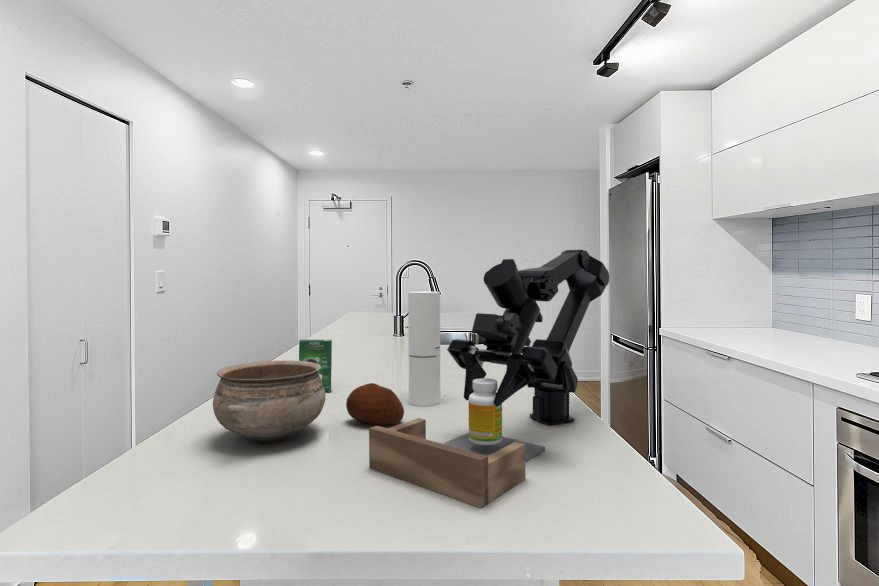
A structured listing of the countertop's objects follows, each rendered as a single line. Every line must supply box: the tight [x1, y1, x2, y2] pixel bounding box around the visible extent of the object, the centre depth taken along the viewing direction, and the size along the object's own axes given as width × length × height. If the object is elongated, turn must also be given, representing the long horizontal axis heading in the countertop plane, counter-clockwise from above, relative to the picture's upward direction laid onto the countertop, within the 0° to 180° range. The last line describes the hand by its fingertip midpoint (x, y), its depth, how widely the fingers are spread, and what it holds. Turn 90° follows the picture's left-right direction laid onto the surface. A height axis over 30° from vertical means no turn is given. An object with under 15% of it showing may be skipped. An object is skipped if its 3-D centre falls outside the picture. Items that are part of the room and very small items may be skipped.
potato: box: [345, 382, 405, 426], centre depth 95 cm, size 8×12×8 cm, turn 85°
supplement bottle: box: [468, 378, 503, 445], centre depth 79 cm, size 5×5×10 cm
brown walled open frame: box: [368, 417, 527, 509], centre depth 71 cm, size 11×20×6 cm, turn 51°
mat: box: [442, 432, 546, 463], centre depth 81 cm, size 12×14×1 cm
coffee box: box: [298, 338, 333, 393], centre depth 121 cm, size 8×3×13 cm, turn 103°
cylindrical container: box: [407, 291, 441, 407], centre depth 111 cm, size 7×7×25 cm
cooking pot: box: [212, 360, 326, 444], centre depth 88 cm, size 25×19×12 cm
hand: (480, 401), depth 78 cm, fingers closed on supplement bottle, 5 cm apart
